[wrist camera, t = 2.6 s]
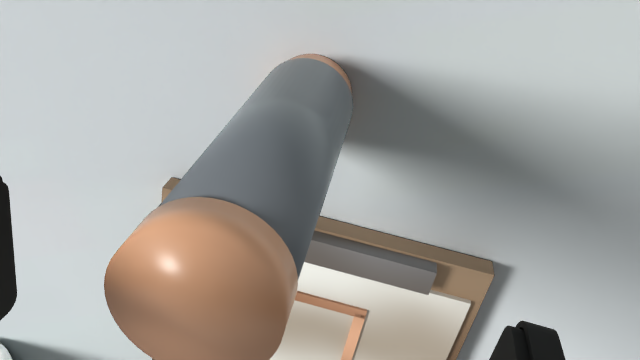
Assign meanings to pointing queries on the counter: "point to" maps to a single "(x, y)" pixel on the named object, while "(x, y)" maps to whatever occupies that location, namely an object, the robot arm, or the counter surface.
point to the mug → (4, 353)
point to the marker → (236, 225)
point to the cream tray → (379, 297)
